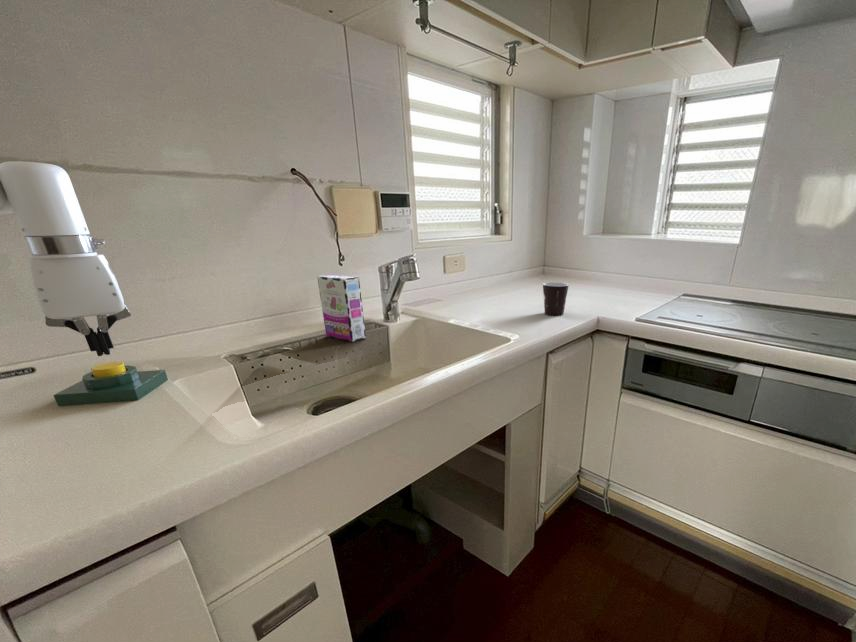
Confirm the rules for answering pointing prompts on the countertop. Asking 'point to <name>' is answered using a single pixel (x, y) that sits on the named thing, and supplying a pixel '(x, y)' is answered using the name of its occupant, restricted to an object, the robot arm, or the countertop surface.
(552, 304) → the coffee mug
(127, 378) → the control box
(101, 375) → the button
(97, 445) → the countertop surface
